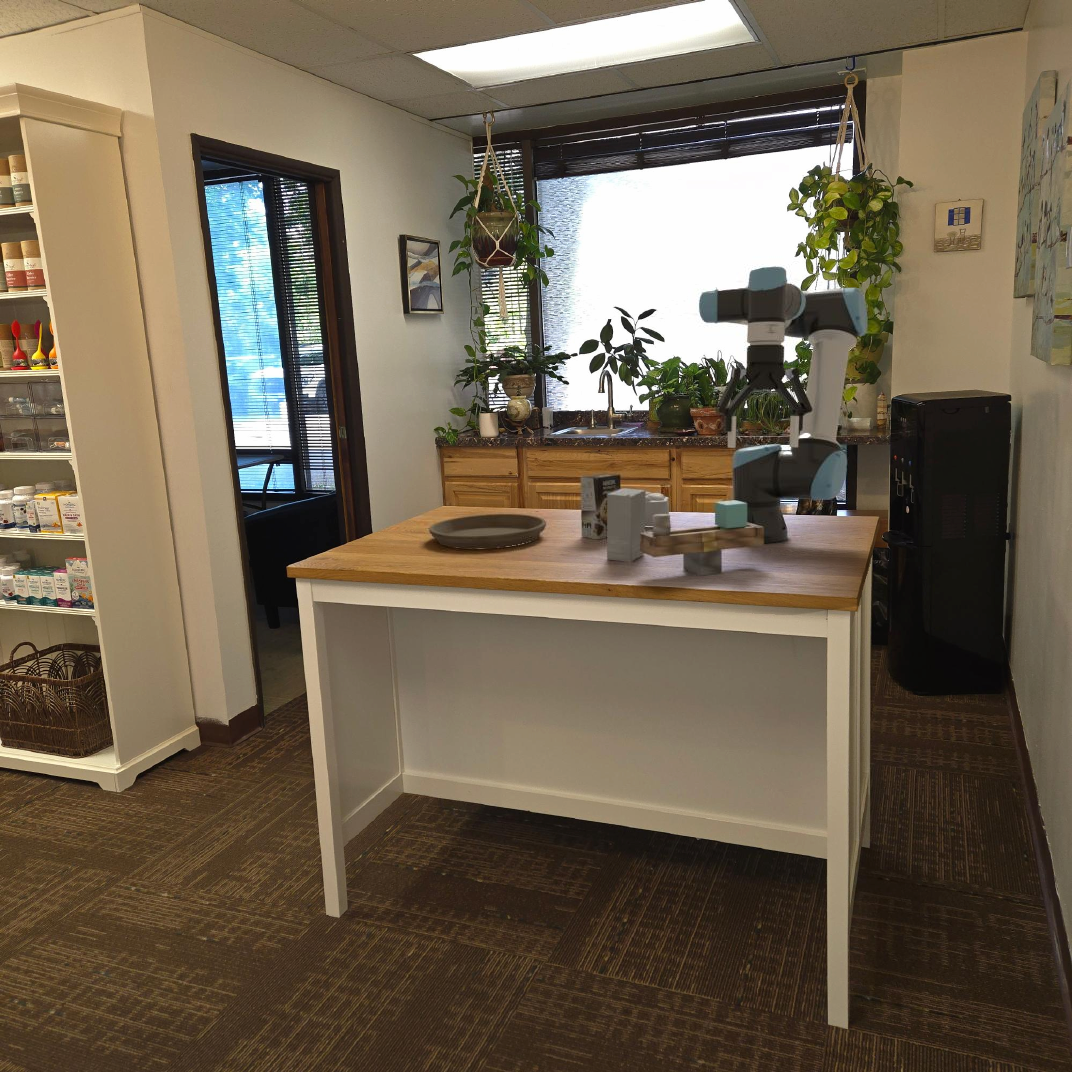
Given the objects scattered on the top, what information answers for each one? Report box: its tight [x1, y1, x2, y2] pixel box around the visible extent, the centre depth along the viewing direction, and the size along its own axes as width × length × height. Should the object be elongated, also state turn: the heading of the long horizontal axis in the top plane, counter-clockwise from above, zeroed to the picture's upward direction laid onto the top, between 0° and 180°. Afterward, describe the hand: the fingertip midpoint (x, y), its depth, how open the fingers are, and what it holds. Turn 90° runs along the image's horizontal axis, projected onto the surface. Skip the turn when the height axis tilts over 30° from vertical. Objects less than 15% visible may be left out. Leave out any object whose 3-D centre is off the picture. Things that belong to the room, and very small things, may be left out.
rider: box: [714, 499, 747, 530], centre depth 203 cm, size 5×5×7 cm
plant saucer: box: [428, 513, 547, 549], centre depth 248 cm, size 31×31×5 cm
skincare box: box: [606, 487, 646, 563], centre depth 217 cm, size 8×7×16 cm
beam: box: [640, 514, 765, 577], centre depth 202 cm, size 26×8×13 cm, turn 108°
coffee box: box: [580, 473, 622, 540], centre depth 245 cm, size 9×6×16 cm
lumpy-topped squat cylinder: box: [645, 491, 670, 526], centre depth 260 cm, size 10×13×9 cm
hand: (762, 447), depth 197 cm, fingers open, 13 cm apart
